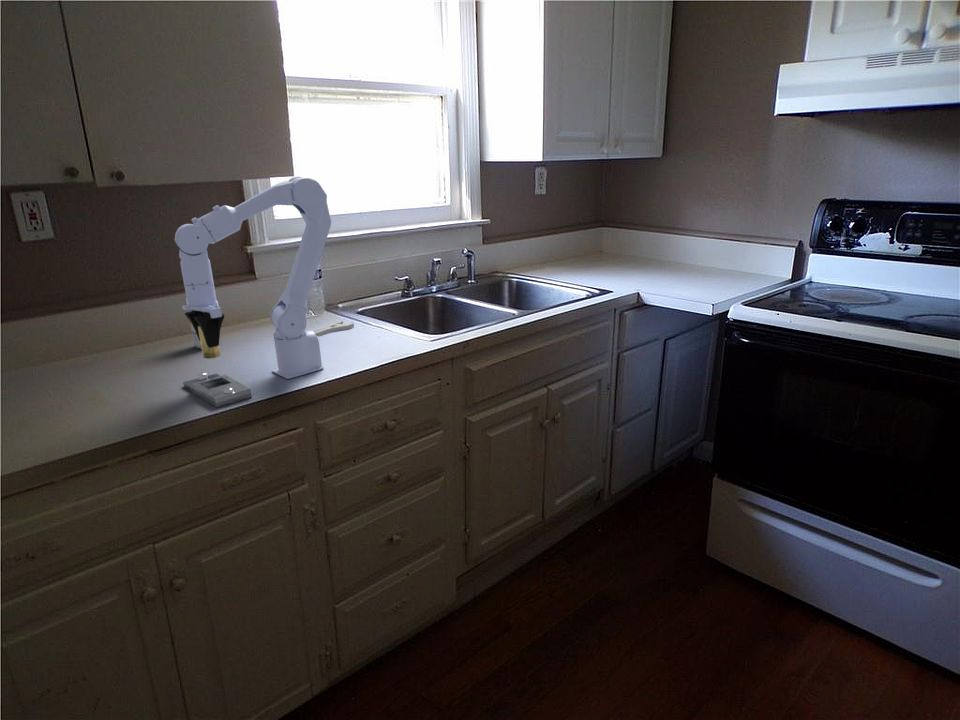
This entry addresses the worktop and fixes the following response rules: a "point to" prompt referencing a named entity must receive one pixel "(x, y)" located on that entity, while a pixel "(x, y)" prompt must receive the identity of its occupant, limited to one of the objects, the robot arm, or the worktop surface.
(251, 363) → the worktop surface
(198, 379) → the studded plate with cutout
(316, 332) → the adjustable wrench
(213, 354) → the brass pin
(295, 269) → the robot arm
